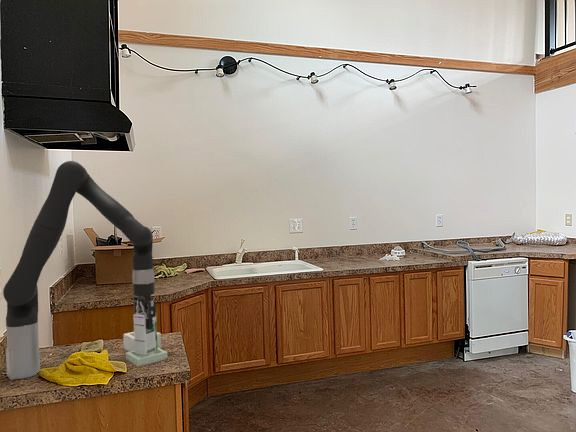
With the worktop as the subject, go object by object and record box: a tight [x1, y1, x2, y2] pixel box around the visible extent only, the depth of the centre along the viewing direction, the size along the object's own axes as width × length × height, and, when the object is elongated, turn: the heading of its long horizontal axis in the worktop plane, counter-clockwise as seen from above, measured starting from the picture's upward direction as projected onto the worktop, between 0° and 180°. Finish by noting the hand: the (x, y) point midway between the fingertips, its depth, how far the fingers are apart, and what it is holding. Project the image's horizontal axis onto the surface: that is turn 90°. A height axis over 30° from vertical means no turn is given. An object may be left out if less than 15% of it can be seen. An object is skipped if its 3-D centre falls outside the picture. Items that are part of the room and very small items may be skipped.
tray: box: [125, 348, 169, 368], centre depth 163 cm, size 11×11×2 cm
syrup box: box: [132, 312, 158, 355], centre depth 162 cm, size 6×6×14 cm
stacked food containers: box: [122, 331, 162, 352], centre depth 175 cm, size 11×11×6 cm
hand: (145, 326), depth 162 cm, fingers closed on syrup box, 6 cm apart
